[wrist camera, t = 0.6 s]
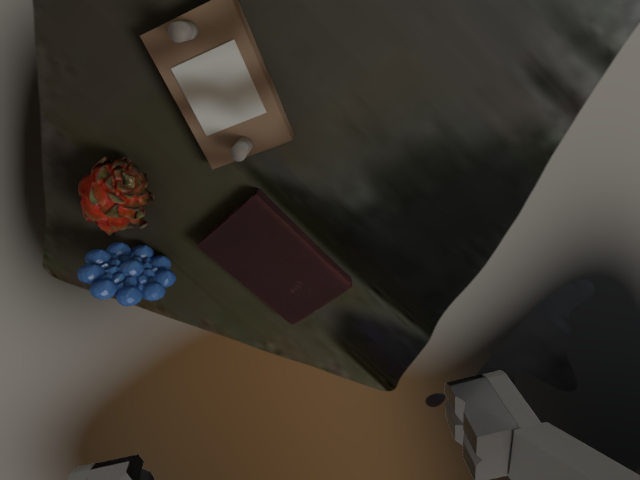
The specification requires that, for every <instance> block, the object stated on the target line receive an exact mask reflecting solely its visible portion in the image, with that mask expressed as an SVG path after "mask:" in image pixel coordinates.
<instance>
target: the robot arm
mask: <svg viewBox="0 0 640 480" xmlns="http://www.w3.org/2000/svg"><path fill="white" fill-rule="evenodd" d="M445 394H446V396H447V398H448V400H447V402H446V403H445V413H446V417H447V421H448V425H449V427H450V430H451V432H452V434H453V437H454V439H455V441H457V442H458V443H460V444H461V445H463V458H464V460H465V462H466V464H467V466H468V468H469V470H470V472H471V474H472V477H473V479H474V480H489V479H493V478H498V477H503V476H508V475H509V478H510V479H511V480H640V475H638V474H636V473H635V472H632V471H631V470H629V469H627V468H626V467H624V466H622V465H621V464H619V463H617V462H615V461H614V460H612V459H610V458H608V457H607V456H605V455H603V454H602V453H600V452H598V451H596V450H595V449H593V448H591V447H589V446H587V445H586V444H584V443H582V442H581V441H579V440H577V439H575V438H574V437H572V436H570V435H568V434H567V433H565V432H563V431H561V430H560V429H558V428H556V427H555V426H553V425H551V424H549V423H548V422H546V423H541V422H540V421H539V419H538V418H537V417H536V415H535V414H534V412H533V411H532V410H531V408H530V407H529V405H528V404H527V403H526V401H525V400H524V399H523V397H522V396H521V394H520V393H519V392H518V390H517V389H516V387H515V386H514V385H513V383H512V382H511V380H510V379H509V378H508V376H507V375H506V373H504V372H503V371H501V370H500V371H495V372H491V373H487V374H483V375H481V374H480V375H476V376H472V377H468V378H464V379H460V380H456V381H452V382H448V383H446V384H445ZM143 463H144V461H143V460H142V459H141V457H140V456H139V455H138V454H137V455H133V456H128V457H123V458H118V459H113V460H108V461H104V462H99V463H94V464H89V465H85V466H80V467H76V468H75V469H74V471H72V473H71V474H70V475H69V478H68V480H154V477H153V475H152V474H151V472H150V471H147V470H145V469H142V467H143Z"/></svg>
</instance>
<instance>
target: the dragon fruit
mask: <svg viewBox="0 0 640 480" xmlns="http://www.w3.org/2000/svg"><path fill="white" fill-rule="evenodd" d="M148 181H149V179H148V176H147V174H146V173H142V172H140V171H139V170H138V169H137V168H135V167H134V166H133V161H131V160H130V159H128V158H127V157H123V158H120V159H117V160H115V161H114V163H113V164H111V163H110V159H109V158H107V157H105V156H103V157H102V158H101V159H100V160H99V161H98V162H97V163H96V164H95V165H94V166H93V167H92V169H91V175H87V176H85V177H84V178H83V179H82V180H81V181H80V182H79V185H78V193H79V197H80V198H81V197H82V200H81V206H82V211H83V216H84V218H85V219H86V221H87V222H89V221H91V222H94V223H95V224H97V225H98V226H99V228H100V229H102V230H104V231H105V232H106V233H107V234H108V235H111V236H112V235H115V234H114V232H117V231H118V230H125V229H132V230H134V227H133V226H128V224H129V222H131V223H133V224H135V225H140V227H139V229H142V228H144V227H145V226H146V225H147V224H148V222H146V221H145V220H143V219H142V218H141V217H144V216H145V211H144V209H143V208H142V206H144V205H146V204H148V203H150V202H153V201H154V197H155V195H154V193H150V192H149V191H148V190H147V189H146V187H147V185H148ZM118 237H119V236H118Z"/></svg>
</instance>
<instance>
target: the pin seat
mask: <svg viewBox="0 0 640 480" xmlns="http://www.w3.org/2000/svg"><path fill="white" fill-rule="evenodd" d="M140 37H141V39H142V41H143V43H144V45H145V46H146V48H147V50H148V52H149V54H150V56H151V57H152V59H153V61H154V63H155V65H156V67H157V68H158V70H159V72H160V74H161V76H162V78H163V79H164V81H165V83H166V85H167V87H168V89H169V90H170V92H171V94H172V96H173V98H174V100H175V101H176V103H177V105H178V107H179V109H180V110H181V112H182V114H183V116H184V118H185V120H186V121H187V123H188V125H189V127H190V129H191V131H192V132H193V134H194V136H195V138H196V140H197V142H198V143H199V145H200V147H201V149H202V151H203V153H204V154H205V156H206V158H207V160H208V162H209V164H210V165H211V167H212V169H215V168H218V167H220V166H223V165H226V164H229V163H231V162H234V161H242V160H244V159H245V157H248V156H251V155H253V154H256V153H259V152H262V151H264V150H267V149H270V148H273V147H275V146H278V145H281V144H283V143H286V142H289V141H292V140H293V138H294V136H295V135H294V132H293V130H292V128H291V125H290V123H289V120H288V118H287V116H286V113H285V111H284V109H283V106H282V104H281V101H280V99H279V97H278V94H277V92H276V90H275V87H274V85H273V82H272V80H271V78H270V75H269V73H268V71H267V68H266V66H265V63H264V61H263V59H262V56H261V54H260V52H259V49H258V47H257V44H256V42H255V40H254V37H253V35H252V33H251V30H250V28H249V25H248V23H247V21H246V18H245V16H244V14H243V11H242V9H241V6H240V4H239V2H238V0H211V1H209V2H207V3H205V4H203V5H201V6H199V7H197V8H195V9H193V10H191V11H189V12H187V13H185V14H183V15H181V16H179V17H177V18H175V19H173V20H171V21H169V22H167V23H165V24H163V25H161V26H159V27H157V28H155V29H153V30H151V31H149V32H147V33H145V34H143V35H140Z"/></svg>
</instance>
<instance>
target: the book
mask: <svg viewBox="0 0 640 480" xmlns="http://www.w3.org/2000/svg"><path fill="white" fill-rule="evenodd" d="M197 246H198V247H199V248H200V249H201V250H202V251H204V252H205V253H206V254H207V255H208V256H209V257H210V258H212V259H213V260H214V261H215V262H216V263H218V264H219V265H220V266H221V267H222V268H224V269H225V270H226V271H227V272H228V273H230V274H231V275H232V276H233V277H235V278H236V279H237V280H239V281H240V282H241V283H242V284H243V285H244V286H246V287H247V288H248V289H249V290H250V291H252V292H253V293H254V294H255V295H257V296H258V297H259V298H260V299H261V300H263V301H264V302H265V303H266V304H267V305H268V306H270V307H271V308H272V309H273V310H274V311H276V312H277V313H278V314H279V315H280V316H282V317H283V318H284V319H285V320H286V321H288V322H289V323H290V324H295V323H297V322H298V321H300V320H302V319H304V318H305V317H307V316H309V315H310V314H311V313H313V312H314V311H316V310H318V309H319V308H321V307H322V306H324V305H325V304H327V303H329V302H330V301H332V300H333V299H335V298H337V297H338V296H339V295H341V294H342V293H344V292H345V291H347V290H348V289H349V288H351V287H352V279H351V277H350V276H349V275H348V274H346V273H345V272H344V271H343V270H342V269H341V268H340V267H339V266H338V265H337V264H336V263H335V262H334V261H333V260H332V259H331V258H330V257H329V256H328V255H327V254H325V253H324V252H323V251H322V250H321V249H320V248H319V247H318V246H317V245H316V244H315V243H314V242H313V241H312V240H311V239H310V238H309V237H308V236H307V235H306V234H305V233H304V232H303V231H302V230H301V229H300V228H299V227H298V226H297V225H296V224H295V223H294V222H293V221H291V220H290V219H289V218H288V217H287V216H286V215H285V214H284V213H283V212H282V211H281V210H280V209H279V208H278V207H277V206H276V205H275V204H274V203H273V202H272V201H271V200H270V199H269V198H268V196H267V195H266V194H265V193H264V192H263V191H262V190H260V189H257V191H256V193H255V194H254V195H253V196H252V197H251V198H250V199H249V200H248V201H244V202H243V203H242V204H240V205H239V206H238V207H237V208H236V209H235V210H234V211H232V212H231V213H230V214H229V215H228V216H227V217H225V218H224V219H223V220H222V221H221V222H220V223H219V224H218V225H217V226H215V227H214V228H213V229H212V230H211V231H210V232H209V233H208V234H207V235H206V236H205V237H204V238H203V241H202V242H201V243H200V244H198V245H197Z"/></svg>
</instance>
